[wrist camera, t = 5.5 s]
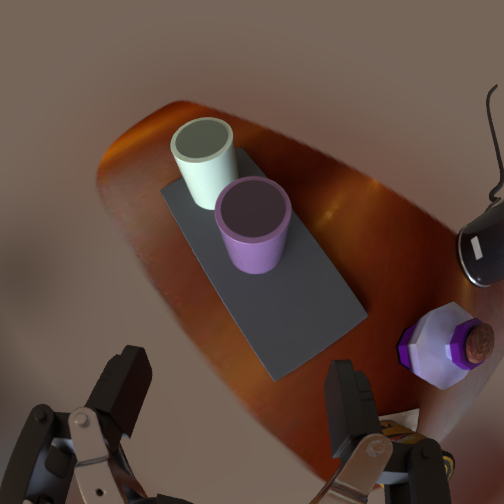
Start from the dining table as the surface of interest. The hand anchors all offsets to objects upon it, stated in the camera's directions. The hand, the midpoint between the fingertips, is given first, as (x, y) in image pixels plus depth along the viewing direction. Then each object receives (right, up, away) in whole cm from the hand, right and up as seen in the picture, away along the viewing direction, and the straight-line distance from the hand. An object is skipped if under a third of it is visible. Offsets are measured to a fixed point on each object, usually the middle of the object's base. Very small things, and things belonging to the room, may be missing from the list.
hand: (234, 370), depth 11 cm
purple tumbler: (+1, +5, +19) cm, 20 cm away
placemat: (+1, +5, +19) cm, 20 cm away
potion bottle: (+19, -6, +15) cm, 25 cm away
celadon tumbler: (-4, +13, +21) cm, 25 cm away
